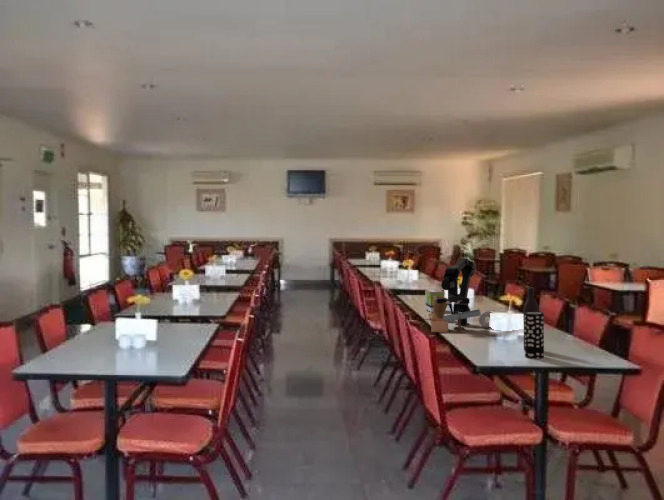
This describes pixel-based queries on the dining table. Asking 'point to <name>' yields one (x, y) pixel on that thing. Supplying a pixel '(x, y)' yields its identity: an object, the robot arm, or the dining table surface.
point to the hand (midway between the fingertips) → (453, 315)
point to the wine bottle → (530, 306)
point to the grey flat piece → (462, 315)
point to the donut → (482, 319)
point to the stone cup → (438, 308)
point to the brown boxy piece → (439, 325)
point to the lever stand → (459, 327)
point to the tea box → (430, 295)
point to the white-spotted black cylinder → (534, 335)
